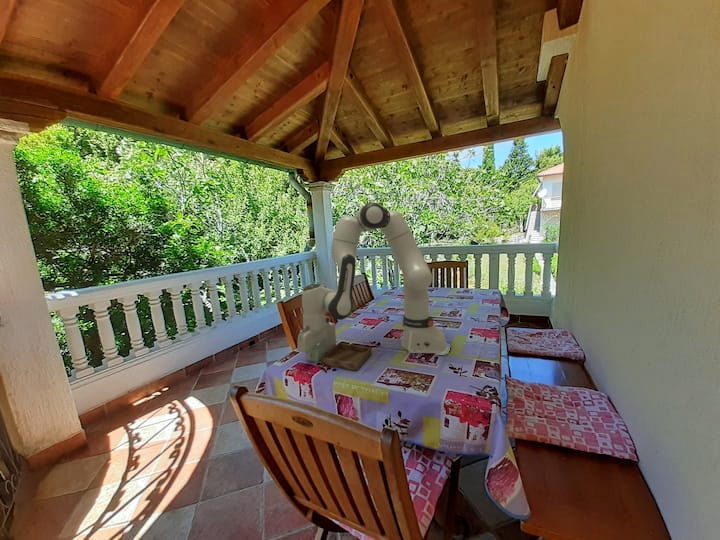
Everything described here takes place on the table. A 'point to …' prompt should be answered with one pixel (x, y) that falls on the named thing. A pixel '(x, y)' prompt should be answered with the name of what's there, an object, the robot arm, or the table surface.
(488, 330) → the table surface
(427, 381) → the table surface
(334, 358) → the walnut tray
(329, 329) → the skincare box
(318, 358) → the sage block
